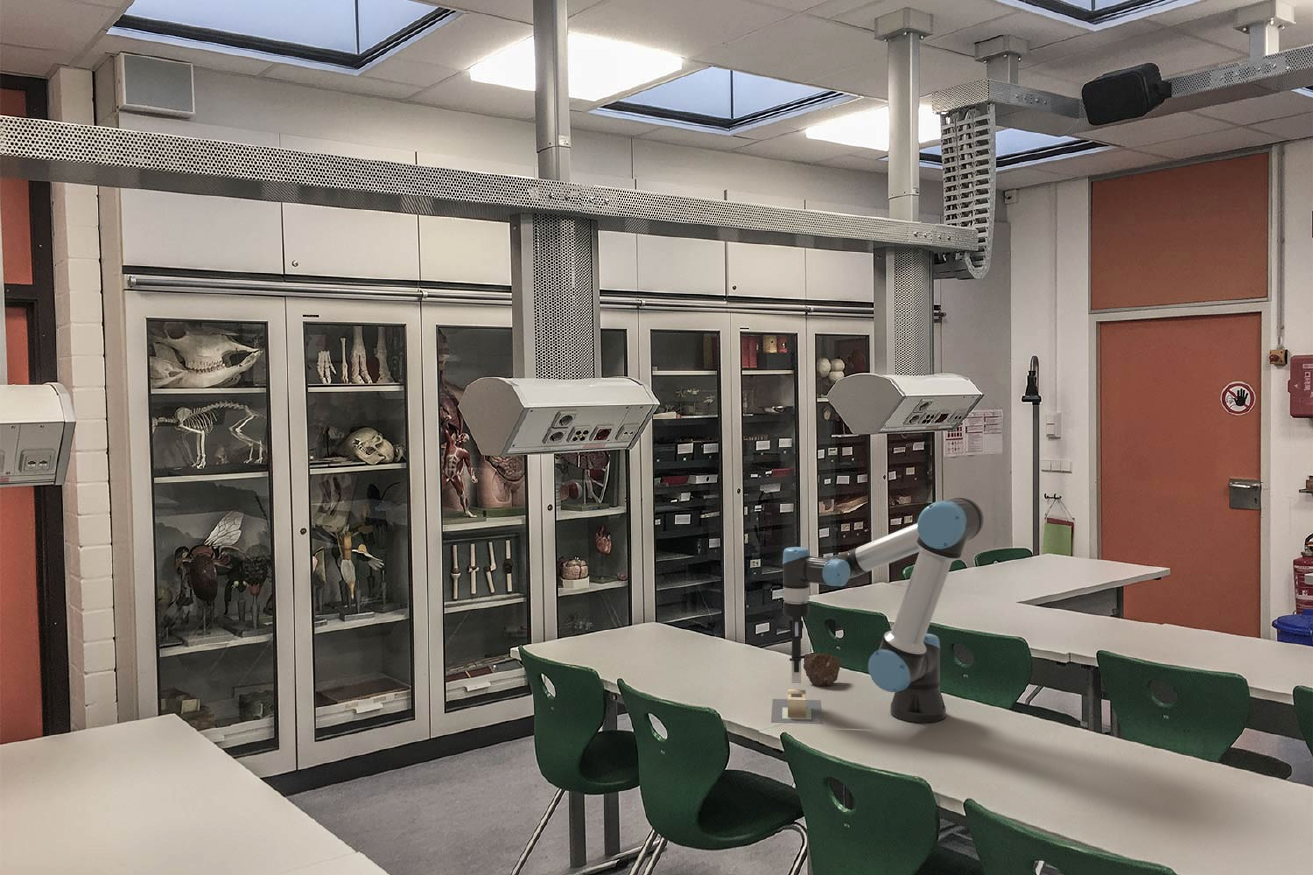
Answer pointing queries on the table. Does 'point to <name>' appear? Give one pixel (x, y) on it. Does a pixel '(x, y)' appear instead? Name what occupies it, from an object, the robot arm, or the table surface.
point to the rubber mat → (782, 717)
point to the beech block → (796, 703)
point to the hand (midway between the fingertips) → (796, 682)
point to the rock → (821, 668)
